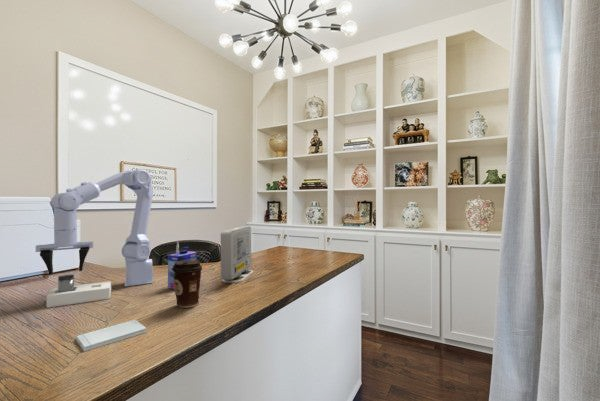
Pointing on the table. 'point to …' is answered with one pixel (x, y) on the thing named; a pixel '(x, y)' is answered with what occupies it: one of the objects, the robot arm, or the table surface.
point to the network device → (235, 254)
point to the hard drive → (110, 335)
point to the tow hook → (177, 247)
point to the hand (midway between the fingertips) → (66, 272)
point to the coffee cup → (187, 283)
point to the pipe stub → (66, 283)
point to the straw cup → (175, 258)
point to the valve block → (80, 294)
